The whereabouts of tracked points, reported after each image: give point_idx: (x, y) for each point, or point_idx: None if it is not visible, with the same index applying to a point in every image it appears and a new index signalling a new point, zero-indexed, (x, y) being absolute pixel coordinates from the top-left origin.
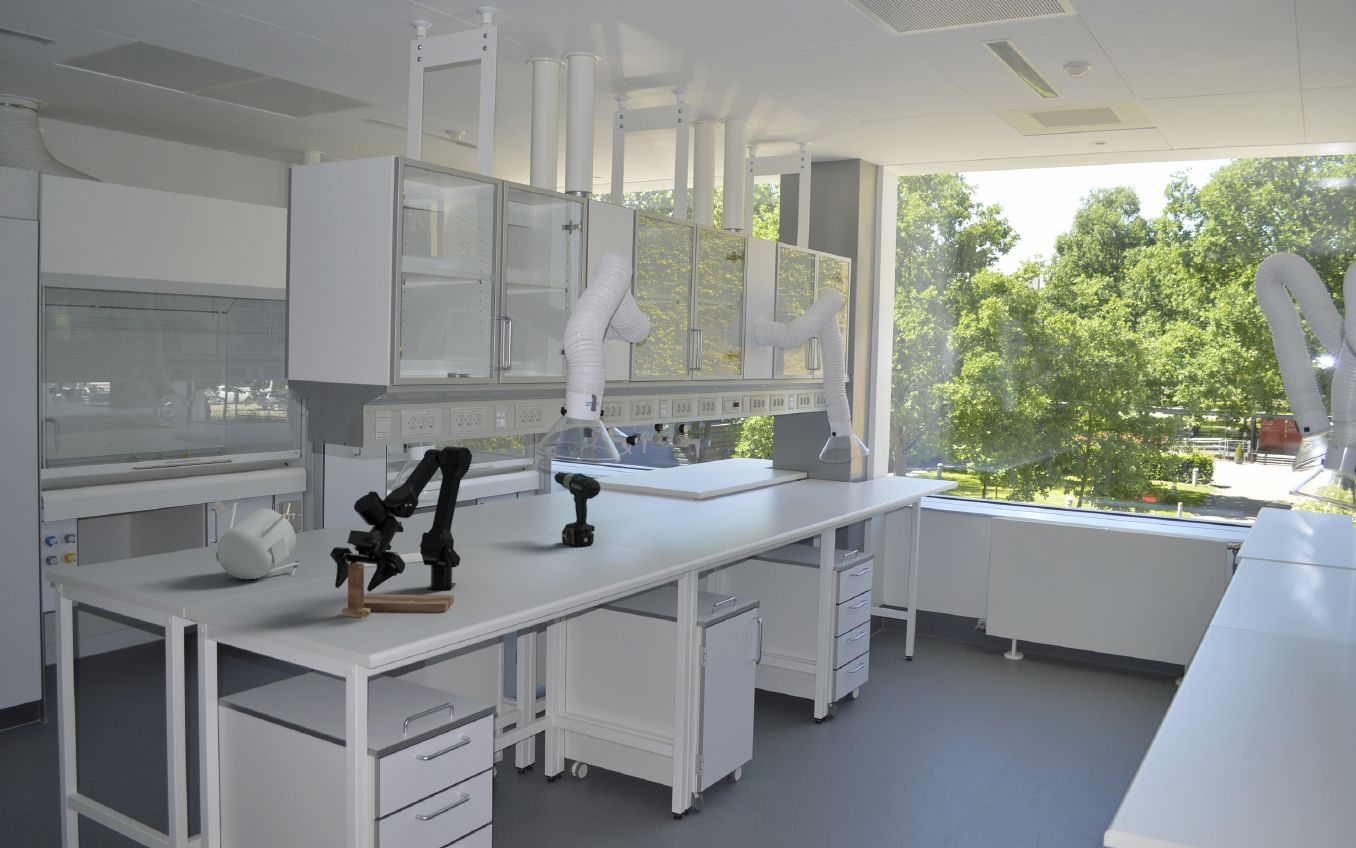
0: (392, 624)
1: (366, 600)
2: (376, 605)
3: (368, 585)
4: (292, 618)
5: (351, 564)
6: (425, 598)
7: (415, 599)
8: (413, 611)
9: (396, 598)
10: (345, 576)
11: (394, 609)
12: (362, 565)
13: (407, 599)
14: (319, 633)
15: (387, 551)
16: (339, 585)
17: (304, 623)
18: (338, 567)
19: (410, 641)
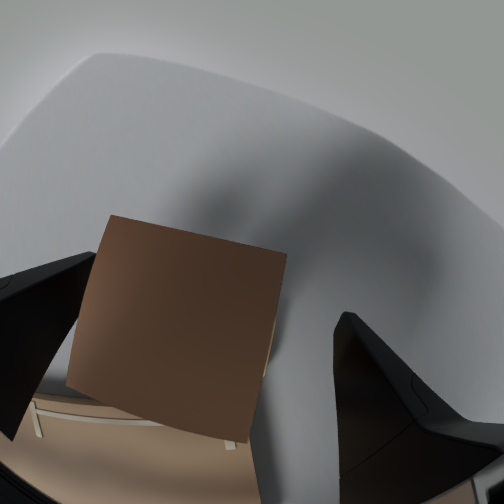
0: (53, 226)
1: (218, 452)
2: None
3: (81, 258)
4: (404, 244)
5: (236, 285)
6: (25, 466)
7: (43, 459)
8: (36, 392)
9: (110, 484)
10: (349, 431)
11: (87, 400)
12: (82, 352)
13: (65, 464)
14: (233, 111)
15: None
16: (337, 344)
17: (337, 193)
18: (440, 406)
19: (27, 119)
